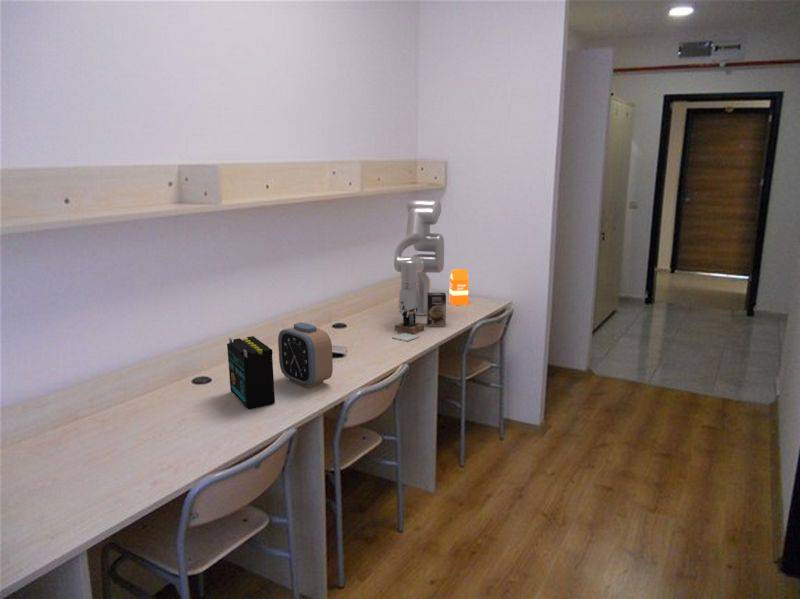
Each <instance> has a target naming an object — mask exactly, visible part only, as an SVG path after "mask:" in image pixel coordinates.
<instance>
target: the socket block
mask: <svg viewBox="0 0 800 599" xmlns="http://www.w3.org/2000/svg"><path fill="white" fill-rule="evenodd" d="M395 331H397V332H396V333H399V332H402V333H401V334H403V333H408V334H413V335H416V334H418V332H419V333H421V332H425V324H423V323H420V322H419V323H418V322H415V323H414V326H413V327H407V326H405V324H403V322H401V323H398V324H395V325H394V332H395ZM420 331H421V332H420ZM415 333H416V334H415Z"/></svg>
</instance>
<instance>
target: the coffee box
mask: <svg viewBox="0 0 800 599" xmlns="http://www.w3.org/2000/svg"><path fill="white" fill-rule="evenodd" d="M446 319H447V295H446V292H430V293H427V315H426V327H427V328H443V327H446V322H447V320H446Z"/></svg>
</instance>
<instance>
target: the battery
mask: <svg viewBox="0 0 800 599" xmlns="http://www.w3.org/2000/svg"><path fill="white" fill-rule="evenodd" d="M228 340H229V342H228V343H226V347H227V348H226V349H227V361H228V373H229V376H228V377H229V389H230V392H231V393H232V394H233V395H234V396H235V397H236V398H237V399H238V400H239V401H240V402H241V404H242V405H243V406H244V407H245V408H246V409H247V410H253V409H258V408H262V407H268V406H272V405H274V404H276V403H275V402H276V399H275V398H276V396H275V381H274V380H275V378H274V363H273V361H274V360H273V353H274V352H273V349H271V347H269V346H268V345H267V344H265V343H263V342H262V341H260V340H259V339H258V338H256V337H255V336H254V335H253V336H247V337H245V338H243V339H242V338H240V337H239V338H233V339H232V338H231V337H229V338H228Z"/></svg>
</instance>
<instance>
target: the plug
mask: <svg viewBox="0 0 800 599" xmlns="http://www.w3.org/2000/svg"><path fill="white" fill-rule="evenodd" d="M405 312H407V311H405ZM408 317H409V325H405V326H407V327H413V326H414V310H409V315H408Z"/></svg>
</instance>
